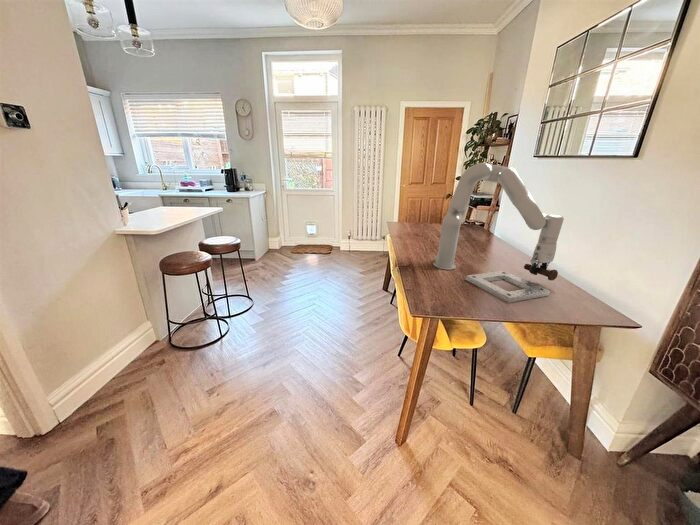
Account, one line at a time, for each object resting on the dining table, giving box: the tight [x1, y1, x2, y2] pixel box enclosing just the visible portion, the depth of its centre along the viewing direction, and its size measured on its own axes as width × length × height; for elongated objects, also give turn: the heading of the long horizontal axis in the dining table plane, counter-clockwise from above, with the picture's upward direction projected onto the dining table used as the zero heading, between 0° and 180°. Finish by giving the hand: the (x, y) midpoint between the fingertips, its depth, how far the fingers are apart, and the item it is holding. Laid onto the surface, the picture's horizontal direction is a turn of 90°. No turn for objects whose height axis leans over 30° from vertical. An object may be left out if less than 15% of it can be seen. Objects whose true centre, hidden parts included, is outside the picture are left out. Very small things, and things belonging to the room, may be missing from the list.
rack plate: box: [465, 270, 551, 304], centre depth 135 cm, size 26×26×3 cm
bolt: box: [523, 263, 559, 281], centre depth 140 cm, size 6×5×15 cm
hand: (537, 273), depth 141 cm, fingers closed on bolt, 5 cm apart
